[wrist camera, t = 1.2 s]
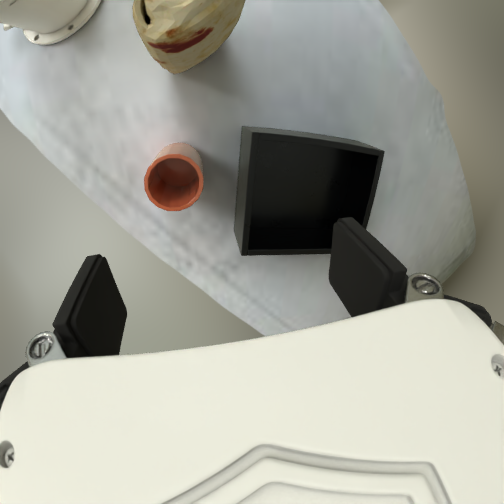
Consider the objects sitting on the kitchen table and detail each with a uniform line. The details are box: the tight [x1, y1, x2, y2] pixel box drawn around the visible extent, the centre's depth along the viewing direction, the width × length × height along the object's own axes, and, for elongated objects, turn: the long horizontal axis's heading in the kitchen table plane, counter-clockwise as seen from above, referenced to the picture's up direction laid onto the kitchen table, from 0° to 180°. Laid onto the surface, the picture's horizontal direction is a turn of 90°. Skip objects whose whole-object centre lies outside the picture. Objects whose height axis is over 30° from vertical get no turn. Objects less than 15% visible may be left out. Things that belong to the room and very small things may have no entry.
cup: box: [144, 143, 203, 211], centre depth 30 cm, size 6×6×8 cm
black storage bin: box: [234, 126, 384, 256], centre depth 34 cm, size 17×15×7 cm
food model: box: [133, 0, 245, 74], centre depth 17 cm, size 10×7×20 cm
